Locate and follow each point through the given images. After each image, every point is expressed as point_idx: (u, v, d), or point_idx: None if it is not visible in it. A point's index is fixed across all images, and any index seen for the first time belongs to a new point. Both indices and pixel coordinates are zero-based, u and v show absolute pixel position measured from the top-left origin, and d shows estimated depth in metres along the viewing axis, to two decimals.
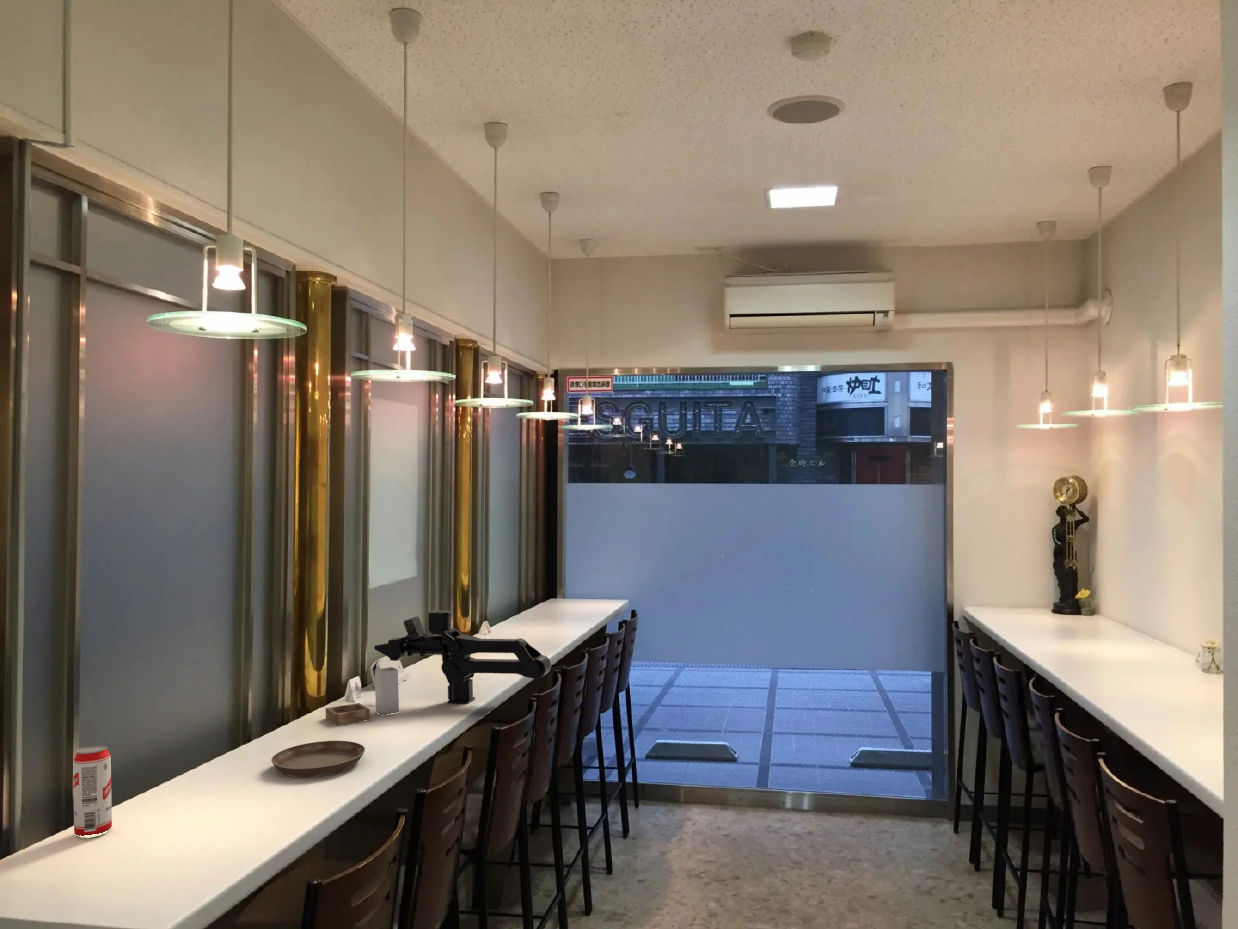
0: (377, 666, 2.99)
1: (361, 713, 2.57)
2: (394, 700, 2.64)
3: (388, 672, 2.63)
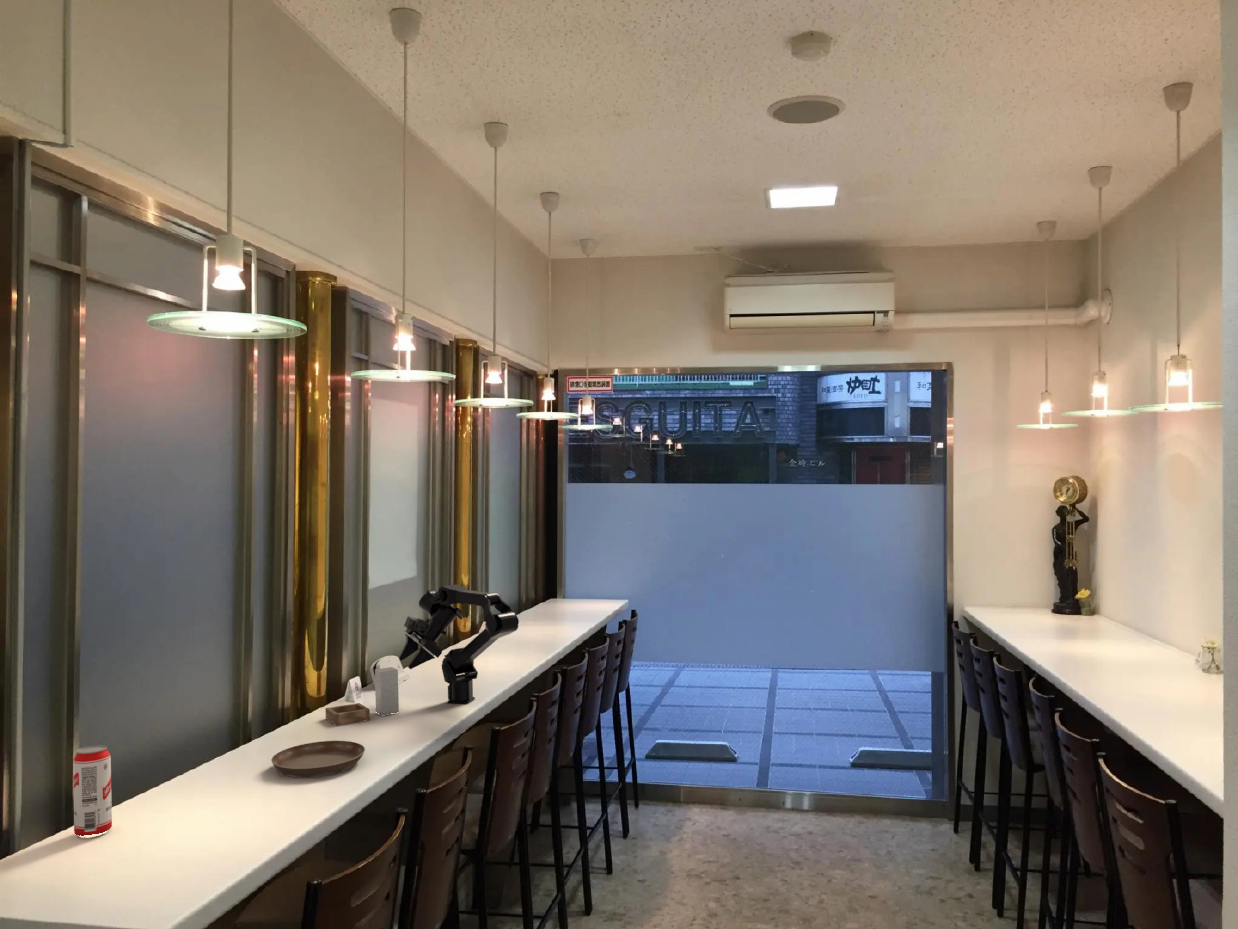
0: (377, 666, 2.99)
1: (361, 713, 2.57)
2: (394, 700, 2.64)
3: (388, 672, 2.63)
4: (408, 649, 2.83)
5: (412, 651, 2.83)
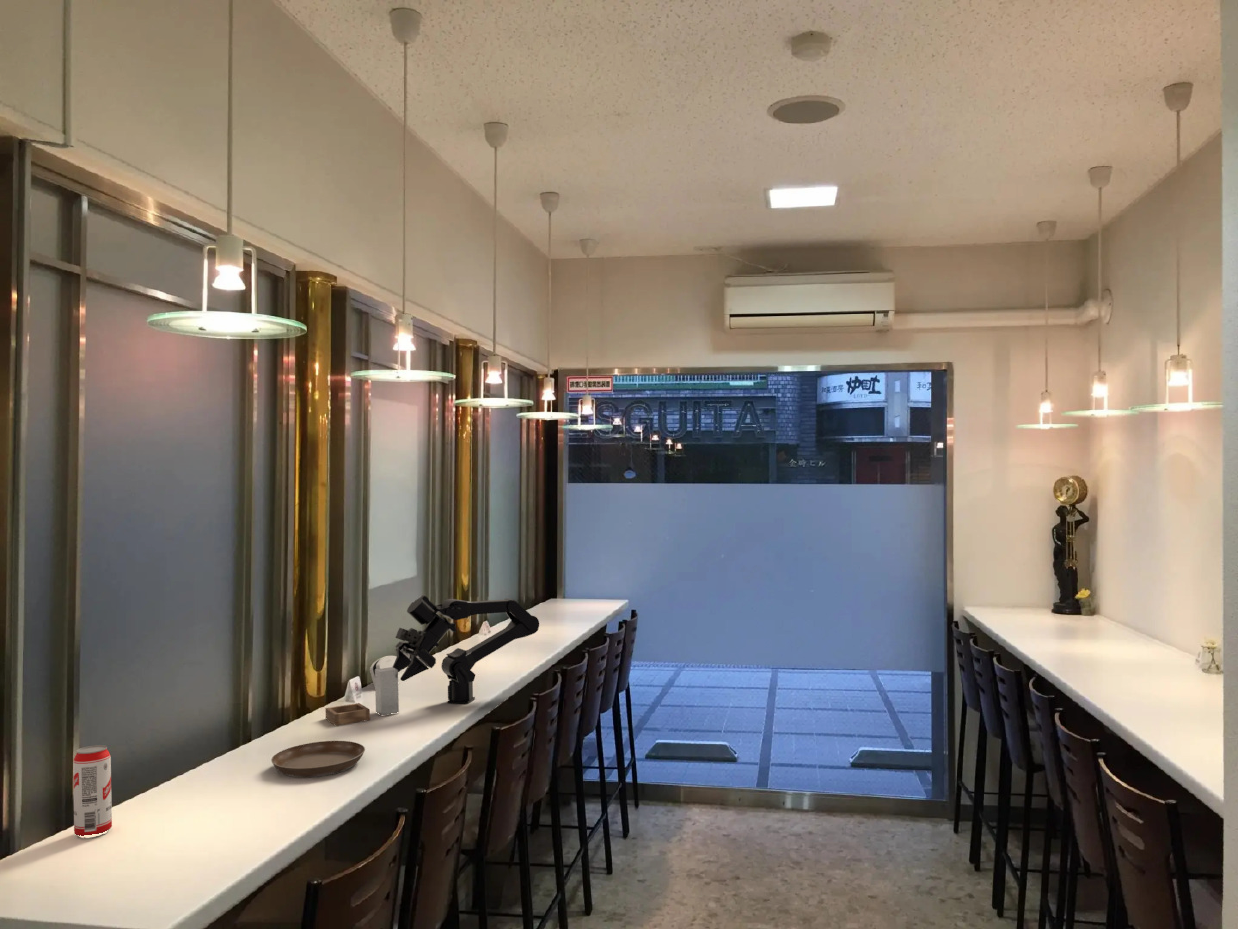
0: (377, 666, 2.99)
1: (361, 713, 2.57)
2: (394, 700, 2.64)
3: (388, 672, 2.63)
4: (399, 664, 2.72)
5: (403, 666, 2.73)
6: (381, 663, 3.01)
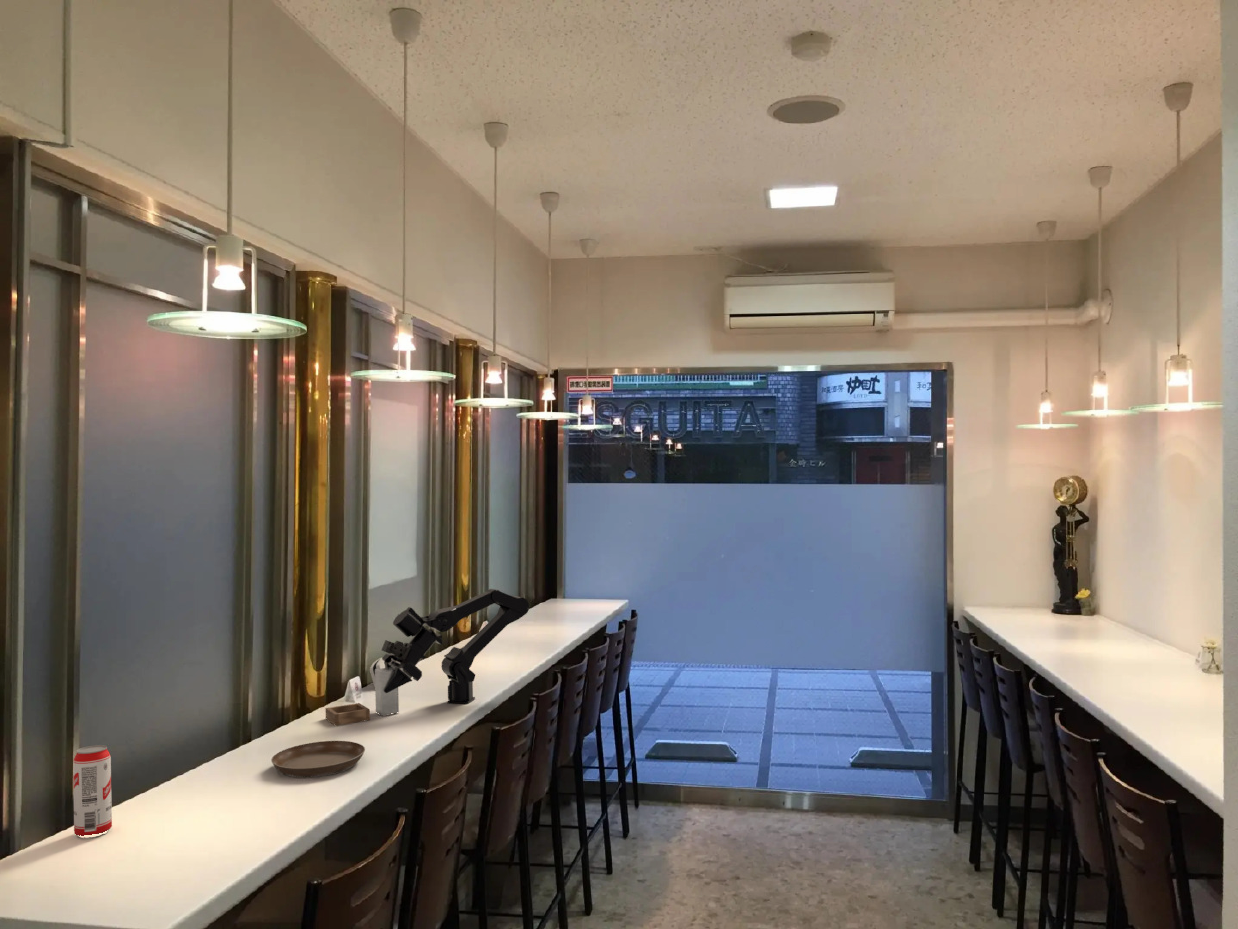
0: (377, 666, 2.99)
1: (361, 713, 2.57)
2: (394, 700, 2.64)
3: (388, 672, 2.63)
4: None
5: None
6: (381, 663, 3.01)
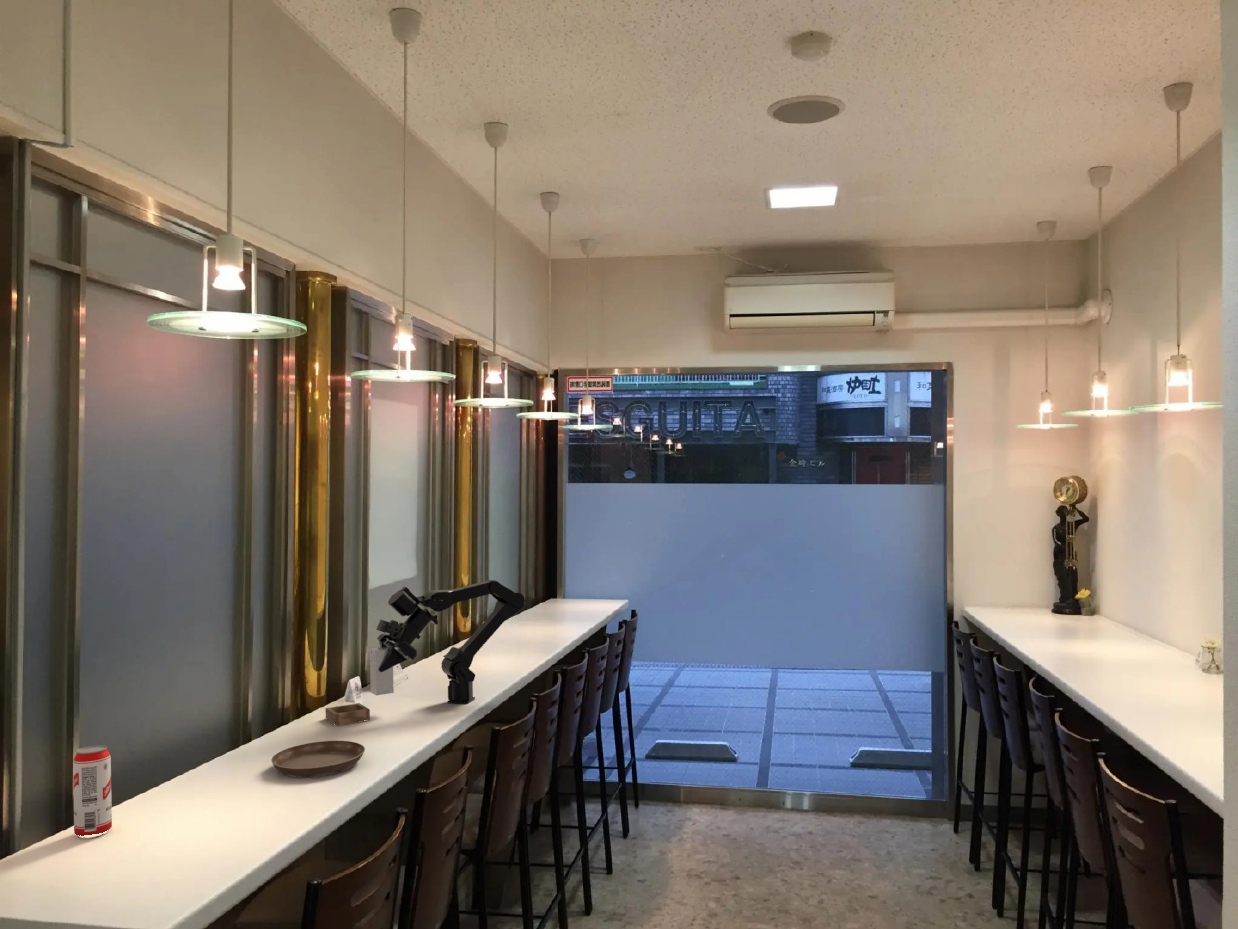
0: None
1: (361, 713, 2.57)
2: (389, 679, 2.63)
3: (383, 651, 2.63)
4: None
5: None
6: None
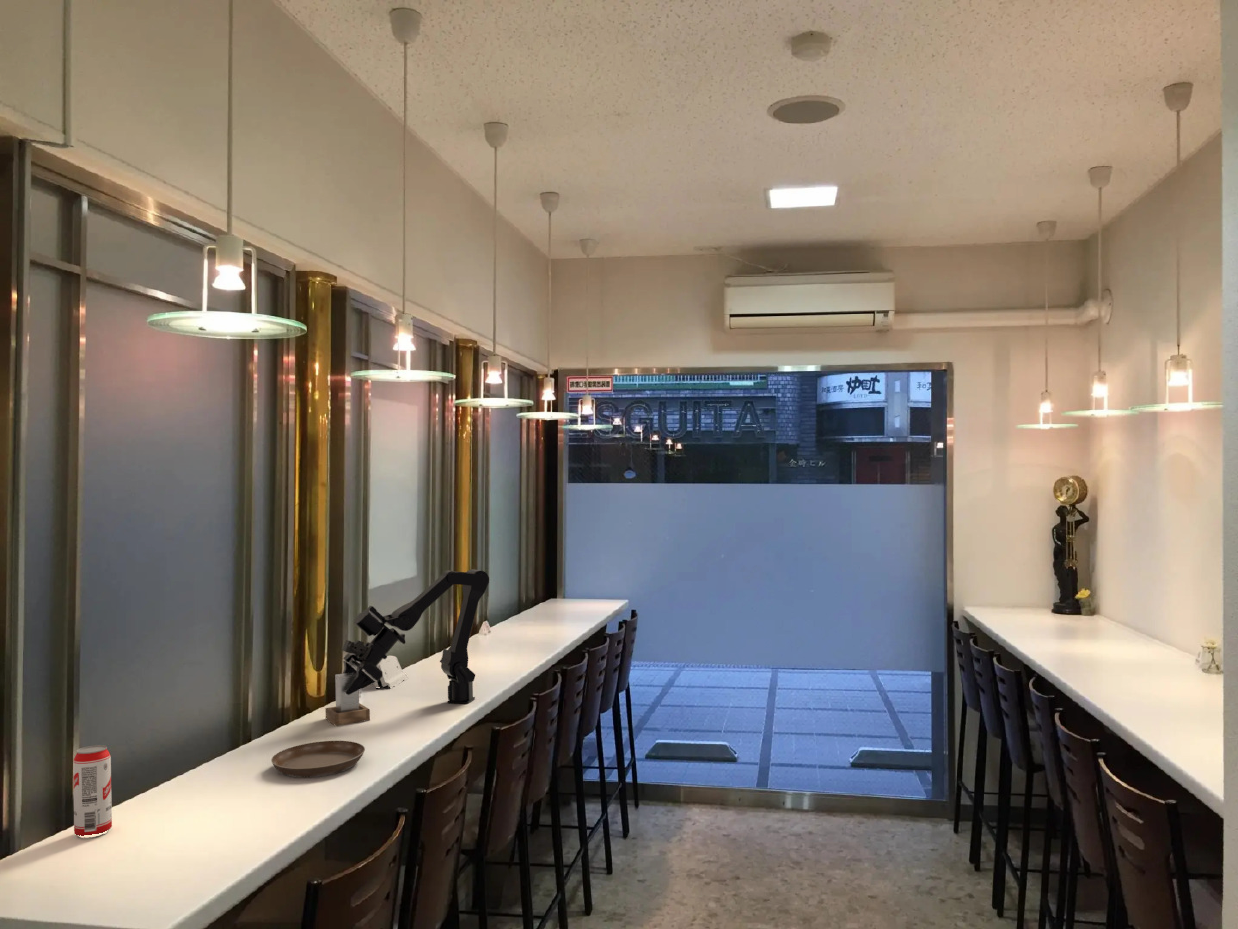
0: (378, 666, 2.99)
1: (361, 713, 2.57)
2: (354, 706, 2.58)
3: (348, 677, 2.57)
4: None
5: None
6: (382, 663, 3.01)
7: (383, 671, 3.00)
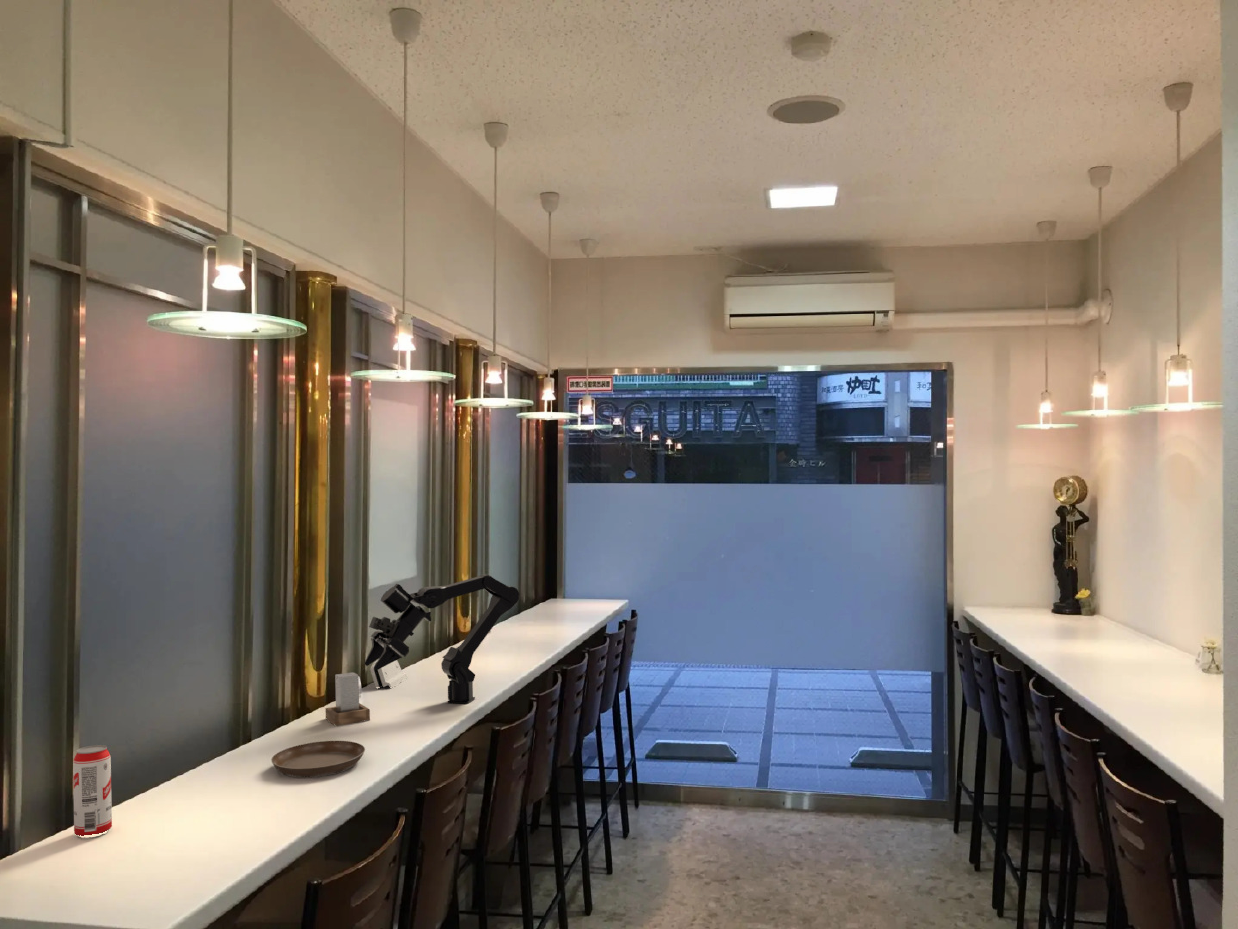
0: None
1: (361, 713, 2.57)
2: (354, 706, 2.58)
3: (348, 677, 2.57)
4: (374, 654, 2.69)
5: (378, 655, 2.70)
6: None
7: (383, 671, 3.00)
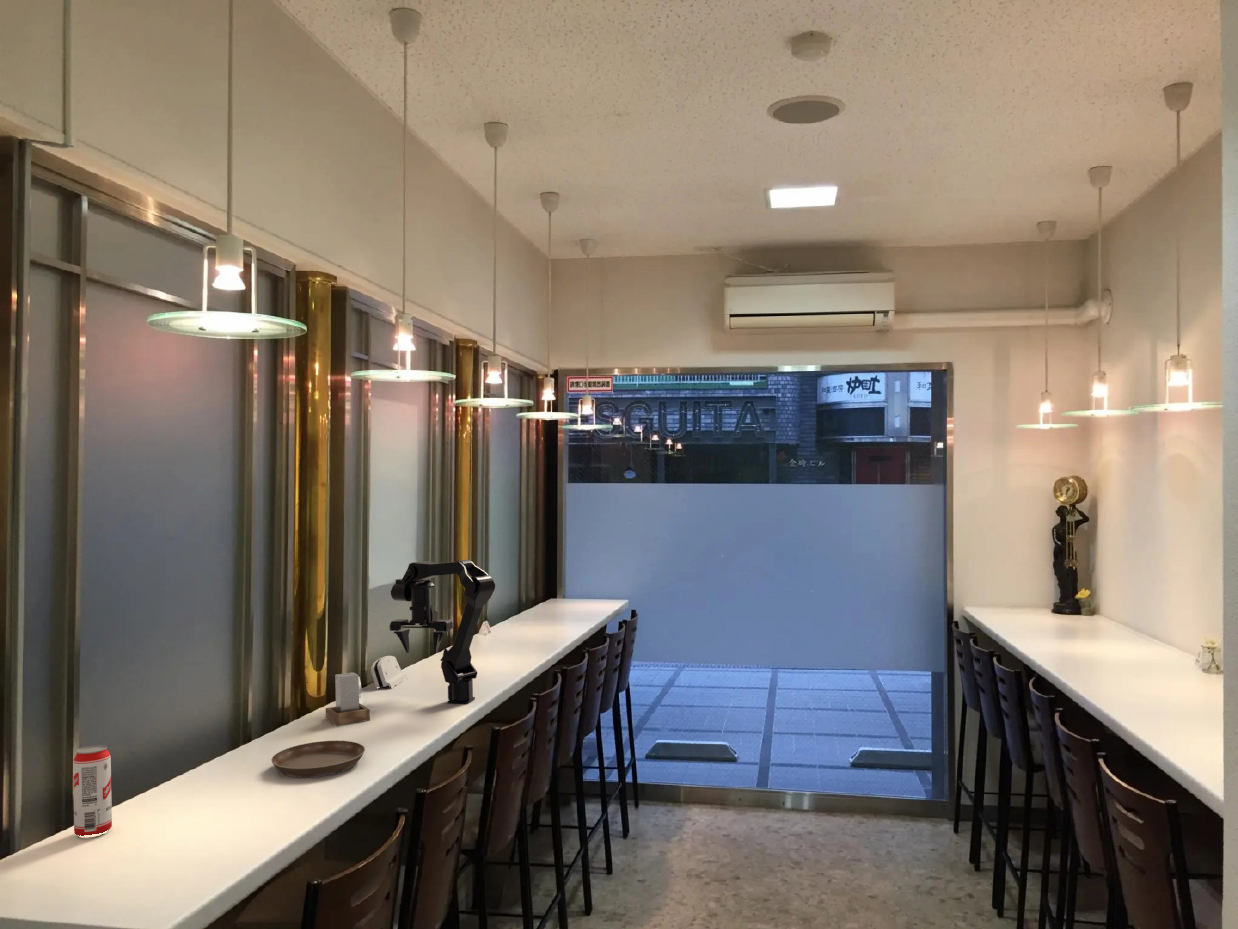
0: (378, 666, 2.99)
1: (361, 713, 2.57)
2: (354, 706, 2.58)
3: (348, 677, 2.57)
4: None
5: None
6: (382, 663, 3.01)
7: (384, 671, 3.00)
